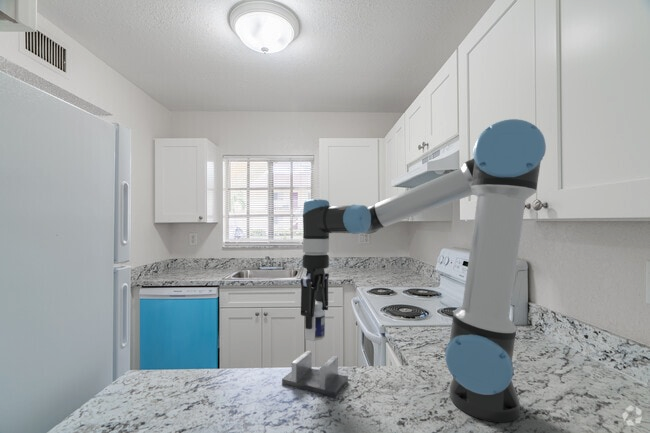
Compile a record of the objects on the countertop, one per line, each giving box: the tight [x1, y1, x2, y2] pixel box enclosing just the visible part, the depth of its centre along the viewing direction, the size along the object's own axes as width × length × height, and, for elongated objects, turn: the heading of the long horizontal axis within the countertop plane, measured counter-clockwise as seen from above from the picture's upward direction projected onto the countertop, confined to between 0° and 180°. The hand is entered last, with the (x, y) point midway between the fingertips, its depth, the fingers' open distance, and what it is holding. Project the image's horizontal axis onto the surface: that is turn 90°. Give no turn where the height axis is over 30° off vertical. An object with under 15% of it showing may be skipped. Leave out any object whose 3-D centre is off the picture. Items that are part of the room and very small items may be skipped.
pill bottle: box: [314, 301, 326, 342], centre depth 82 cm, size 5×5×10 cm
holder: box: [281, 350, 349, 399], centre depth 81 cm, size 16×9×6 cm, turn 65°
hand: (315, 336), depth 82 cm, fingers closed on pill bottle, 5 cm apart
